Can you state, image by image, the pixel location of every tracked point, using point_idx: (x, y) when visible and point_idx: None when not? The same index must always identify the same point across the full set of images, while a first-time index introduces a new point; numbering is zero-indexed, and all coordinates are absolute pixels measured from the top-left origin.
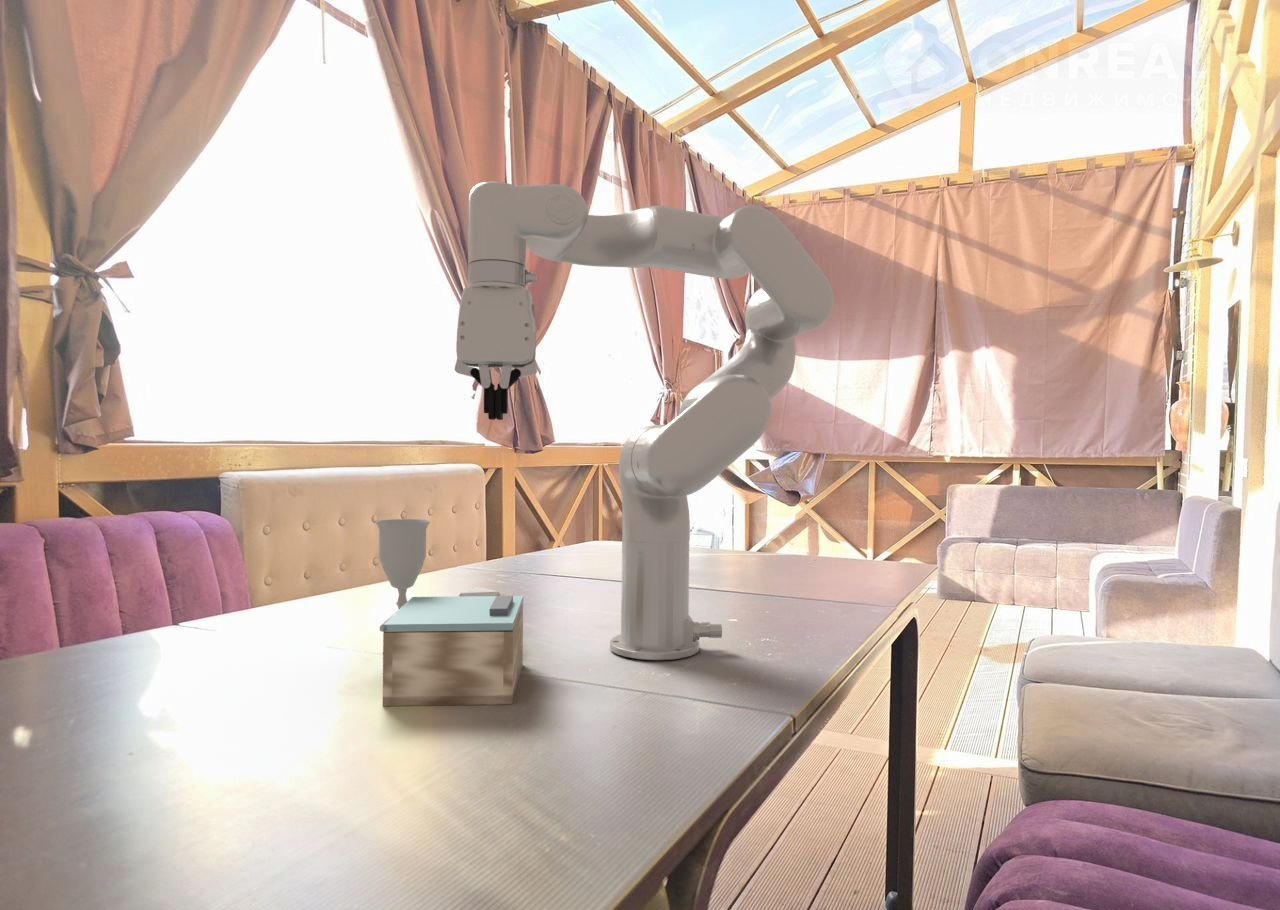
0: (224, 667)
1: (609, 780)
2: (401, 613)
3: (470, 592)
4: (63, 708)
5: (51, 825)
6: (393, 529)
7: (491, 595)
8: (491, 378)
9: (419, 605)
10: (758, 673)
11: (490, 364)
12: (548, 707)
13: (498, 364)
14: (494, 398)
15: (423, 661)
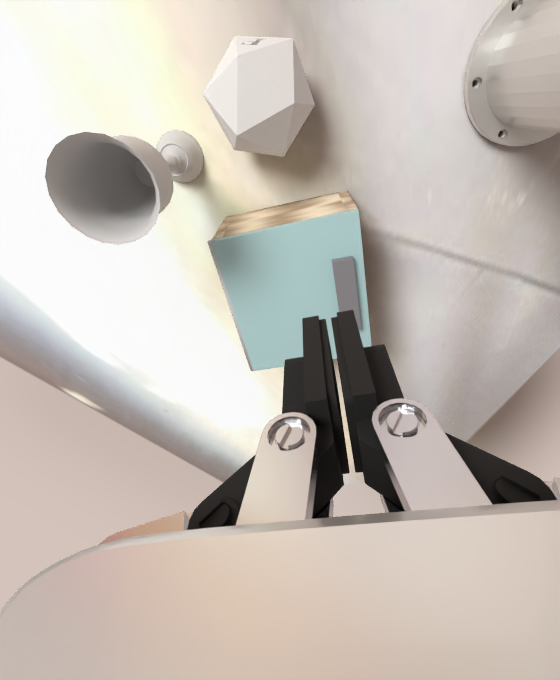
0: (47, 255)
1: (434, 411)
2: (245, 330)
3: (250, 125)
4: (48, 362)
5: (203, 461)
6: (121, 235)
7: (285, 116)
8: (315, 478)
9: (245, 291)
10: None
11: (274, 544)
12: (391, 316)
13: (360, 539)
14: (343, 432)
15: None
